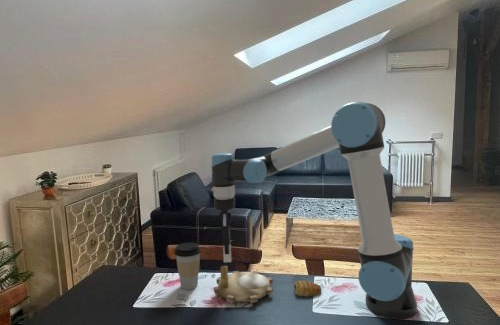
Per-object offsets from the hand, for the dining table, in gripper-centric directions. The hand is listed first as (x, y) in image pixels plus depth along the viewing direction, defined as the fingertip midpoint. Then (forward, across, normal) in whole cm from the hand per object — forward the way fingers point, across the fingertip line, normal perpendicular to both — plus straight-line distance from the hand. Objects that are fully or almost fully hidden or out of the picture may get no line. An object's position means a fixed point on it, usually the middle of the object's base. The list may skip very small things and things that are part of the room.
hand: (227, 261), depth 126 cm
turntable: (+8, +4, +6) cm, 11 cm away
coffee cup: (+9, -1, -14) cm, 17 cm away
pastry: (+10, +6, +27) cm, 29 cm away
